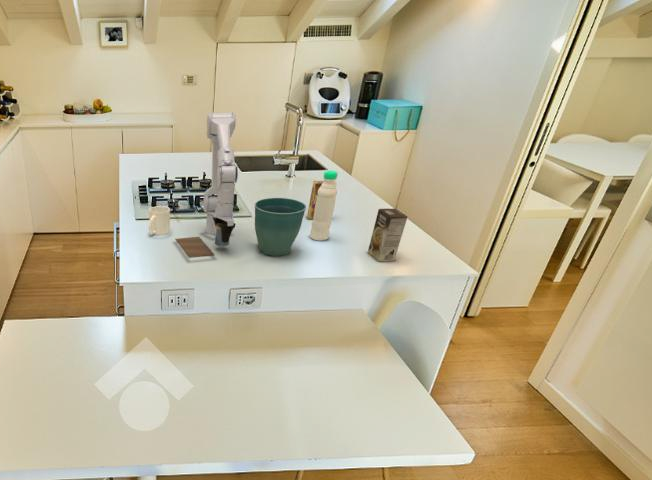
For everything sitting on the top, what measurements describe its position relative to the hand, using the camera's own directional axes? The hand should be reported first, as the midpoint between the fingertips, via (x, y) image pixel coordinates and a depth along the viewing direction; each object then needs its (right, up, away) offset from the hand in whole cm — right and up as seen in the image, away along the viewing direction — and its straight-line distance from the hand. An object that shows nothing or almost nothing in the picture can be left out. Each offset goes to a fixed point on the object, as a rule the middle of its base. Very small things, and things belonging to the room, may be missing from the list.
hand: (222, 239), depth 187 cm
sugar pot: (0, -1, +1) cm, 2 cm away
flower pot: (+20, -3, +4) cm, 21 cm away
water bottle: (+41, +4, +14) cm, 43 cm away
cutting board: (-10, -3, +6) cm, 12 cm away
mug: (-24, +6, +19) cm, 31 cm away
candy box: (+47, +19, +34) cm, 61 cm away
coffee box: (+58, -7, -2) cm, 58 cm away
